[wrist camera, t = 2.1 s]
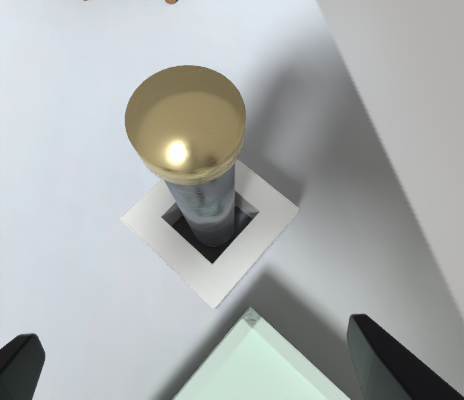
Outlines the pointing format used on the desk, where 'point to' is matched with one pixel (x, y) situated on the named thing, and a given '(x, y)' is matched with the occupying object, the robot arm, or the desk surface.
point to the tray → (257, 368)
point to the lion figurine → (168, 0)
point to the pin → (191, 143)
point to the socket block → (238, 252)
